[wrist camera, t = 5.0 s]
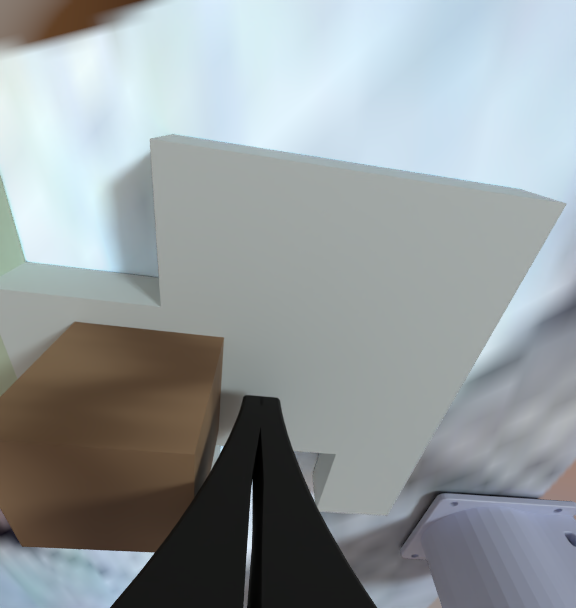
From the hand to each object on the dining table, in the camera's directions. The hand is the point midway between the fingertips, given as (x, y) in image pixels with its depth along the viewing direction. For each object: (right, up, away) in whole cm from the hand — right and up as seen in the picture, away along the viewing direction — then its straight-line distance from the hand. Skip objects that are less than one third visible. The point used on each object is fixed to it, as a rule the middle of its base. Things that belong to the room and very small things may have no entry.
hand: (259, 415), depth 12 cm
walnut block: (-4, +1, +1) cm, 4 cm away
